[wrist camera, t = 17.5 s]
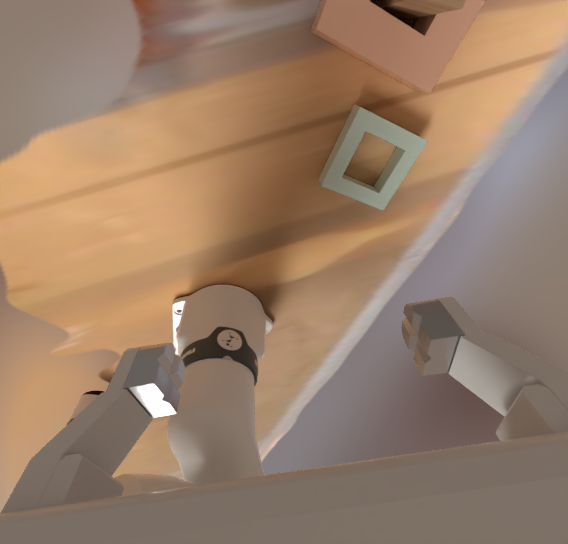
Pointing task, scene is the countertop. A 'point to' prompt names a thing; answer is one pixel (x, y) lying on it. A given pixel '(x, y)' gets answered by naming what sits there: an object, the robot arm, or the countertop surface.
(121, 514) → the robot arm
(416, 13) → the plug
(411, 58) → the socket block
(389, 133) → the green square frame
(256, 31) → the countertop surface
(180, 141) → the countertop surface
